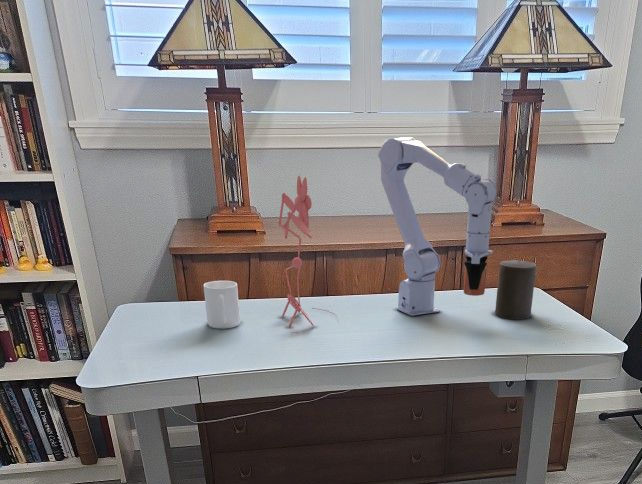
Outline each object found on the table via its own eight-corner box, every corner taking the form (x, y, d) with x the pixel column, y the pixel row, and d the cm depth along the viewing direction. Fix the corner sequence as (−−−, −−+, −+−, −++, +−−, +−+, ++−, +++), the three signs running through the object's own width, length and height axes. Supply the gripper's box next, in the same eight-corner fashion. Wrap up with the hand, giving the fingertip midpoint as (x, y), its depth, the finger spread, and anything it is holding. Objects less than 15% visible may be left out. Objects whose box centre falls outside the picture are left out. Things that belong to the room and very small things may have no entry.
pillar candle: (502, 320, 187) (508, 263, 180) (490, 310, 195) (495, 255, 188) (536, 318, 189) (543, 262, 182) (522, 309, 197) (529, 254, 190)
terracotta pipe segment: (471, 296, 180) (473, 271, 177) (459, 291, 184) (460, 266, 181) (488, 294, 183) (490, 268, 179) (475, 289, 187) (477, 264, 184)
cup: (240, 318, 184) (236, 279, 180) (241, 332, 174) (237, 291, 169) (207, 320, 183) (203, 281, 178) (207, 334, 173) (202, 292, 168)
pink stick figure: (292, 337, 172) (285, 183, 155) (272, 309, 193) (264, 171, 176) (352, 332, 176) (352, 182, 159) (326, 305, 197) (323, 170, 180)
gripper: (494, 237, 169) (489, 294, 176) (494, 227, 182) (490, 280, 188) (464, 236, 170) (460, 292, 177) (467, 226, 183) (463, 279, 189)
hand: (474, 286), depth 183 cm, fingers closed on terracotta pipe segment, 5 cm apart
